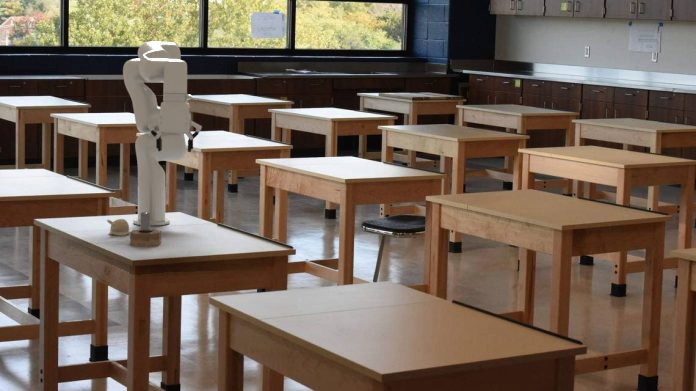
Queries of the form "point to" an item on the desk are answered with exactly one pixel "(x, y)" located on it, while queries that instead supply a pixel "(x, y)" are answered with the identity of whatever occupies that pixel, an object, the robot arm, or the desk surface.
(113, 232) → the decorative ornament
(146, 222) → the grey square post
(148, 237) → the bead
